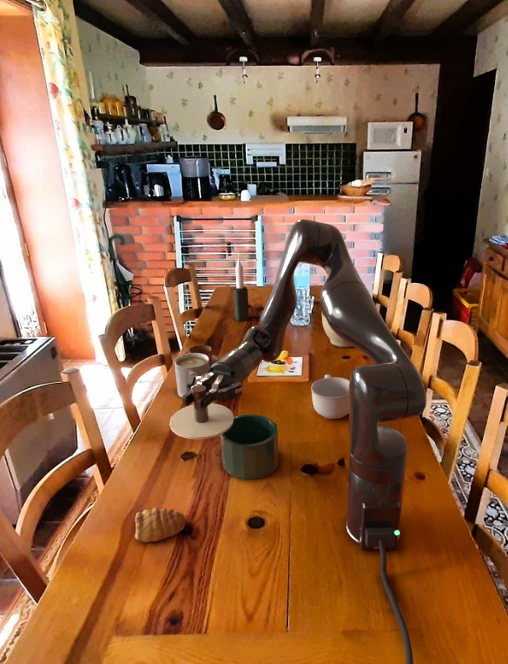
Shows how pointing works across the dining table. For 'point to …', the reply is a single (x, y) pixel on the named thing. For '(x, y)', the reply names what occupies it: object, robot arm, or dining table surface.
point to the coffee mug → (189, 369)
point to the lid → (201, 418)
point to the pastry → (158, 524)
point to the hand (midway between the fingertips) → (192, 403)
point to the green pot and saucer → (204, 352)
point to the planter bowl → (333, 334)
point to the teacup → (331, 397)
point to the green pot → (250, 447)
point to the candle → (240, 295)
